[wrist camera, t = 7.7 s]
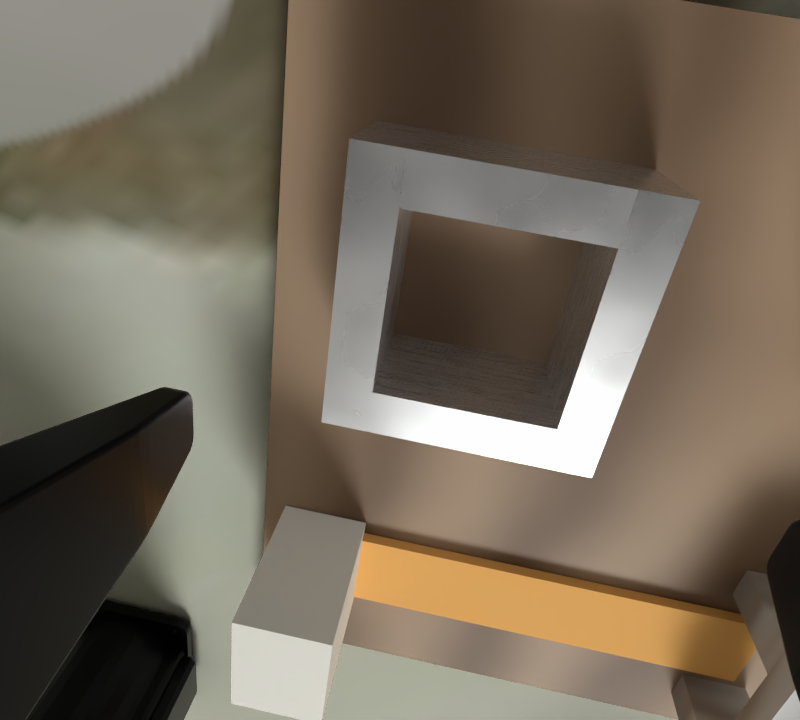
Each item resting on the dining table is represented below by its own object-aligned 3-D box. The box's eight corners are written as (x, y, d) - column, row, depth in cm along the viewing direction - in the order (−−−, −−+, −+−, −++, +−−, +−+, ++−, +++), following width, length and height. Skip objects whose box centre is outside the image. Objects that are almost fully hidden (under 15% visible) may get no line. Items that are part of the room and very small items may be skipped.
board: (271, 595, 26) (221, 718, 21) (309, -52, 15) (218, -104, 10) (724, 697, 25) (779, 850, 20) (1151, 83, 13) (1517, 100, 9)
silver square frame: (350, 359, 18) (321, 422, 15) (379, 120, 15) (349, 138, 12) (574, 404, 18) (591, 478, 15) (656, 169, 14) (700, 200, 11)
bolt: (280, 580, 23) (230, 703, 19) (285, 505, 21) (231, 622, 17) (724, 679, 22) (782, 833, 18) (771, 609, 20) (848, 763, 16)
